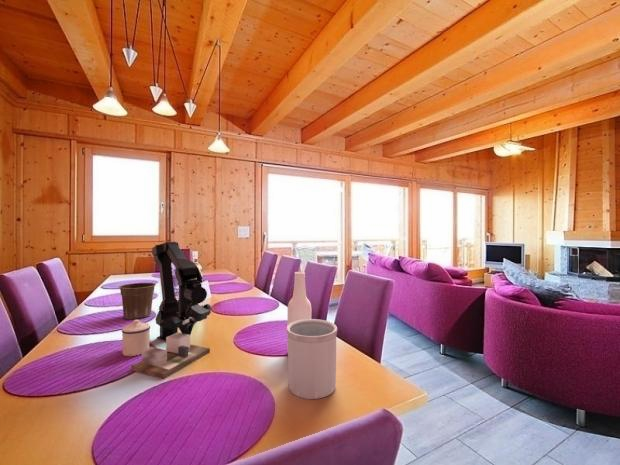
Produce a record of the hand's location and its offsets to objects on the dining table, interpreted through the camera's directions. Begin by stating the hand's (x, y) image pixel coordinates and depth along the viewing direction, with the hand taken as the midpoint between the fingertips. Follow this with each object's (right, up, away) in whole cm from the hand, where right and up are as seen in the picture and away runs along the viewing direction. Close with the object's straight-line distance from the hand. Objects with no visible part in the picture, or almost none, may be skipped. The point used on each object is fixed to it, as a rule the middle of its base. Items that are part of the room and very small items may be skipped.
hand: (187, 339), depth 109 cm
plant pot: (-43, -3, +42) cm, 60 cm away
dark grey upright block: (+2, -2, -9) cm, 9 cm away
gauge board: (-1, -4, -9) cm, 10 cm away
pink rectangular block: (0, -2, -5) cm, 5 cm away
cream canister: (-20, -4, -1) cm, 20 cm away
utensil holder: (+47, -5, -24) cm, 52 cm away
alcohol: (+42, -5, -2) cm, 42 cm away
